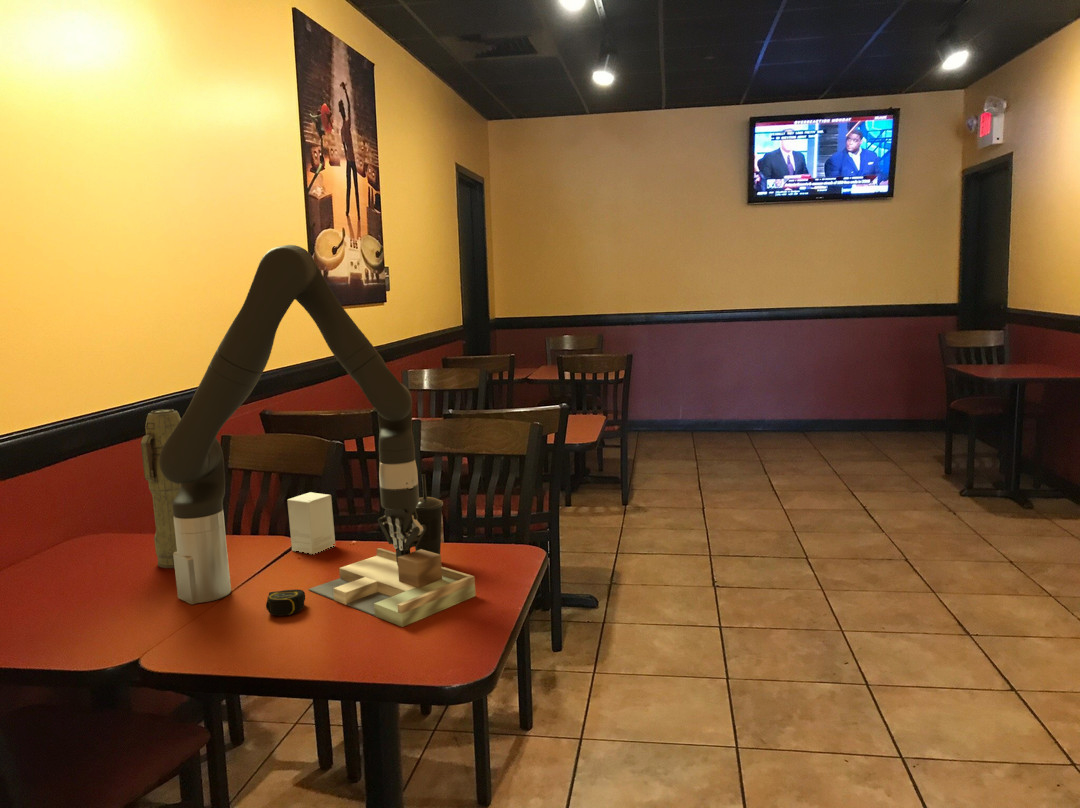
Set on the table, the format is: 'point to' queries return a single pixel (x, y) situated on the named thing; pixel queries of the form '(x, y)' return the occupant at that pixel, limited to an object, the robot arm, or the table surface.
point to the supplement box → (311, 522)
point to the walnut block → (419, 568)
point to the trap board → (395, 590)
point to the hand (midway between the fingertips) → (404, 566)
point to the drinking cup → (429, 521)
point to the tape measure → (285, 602)
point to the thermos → (161, 482)
